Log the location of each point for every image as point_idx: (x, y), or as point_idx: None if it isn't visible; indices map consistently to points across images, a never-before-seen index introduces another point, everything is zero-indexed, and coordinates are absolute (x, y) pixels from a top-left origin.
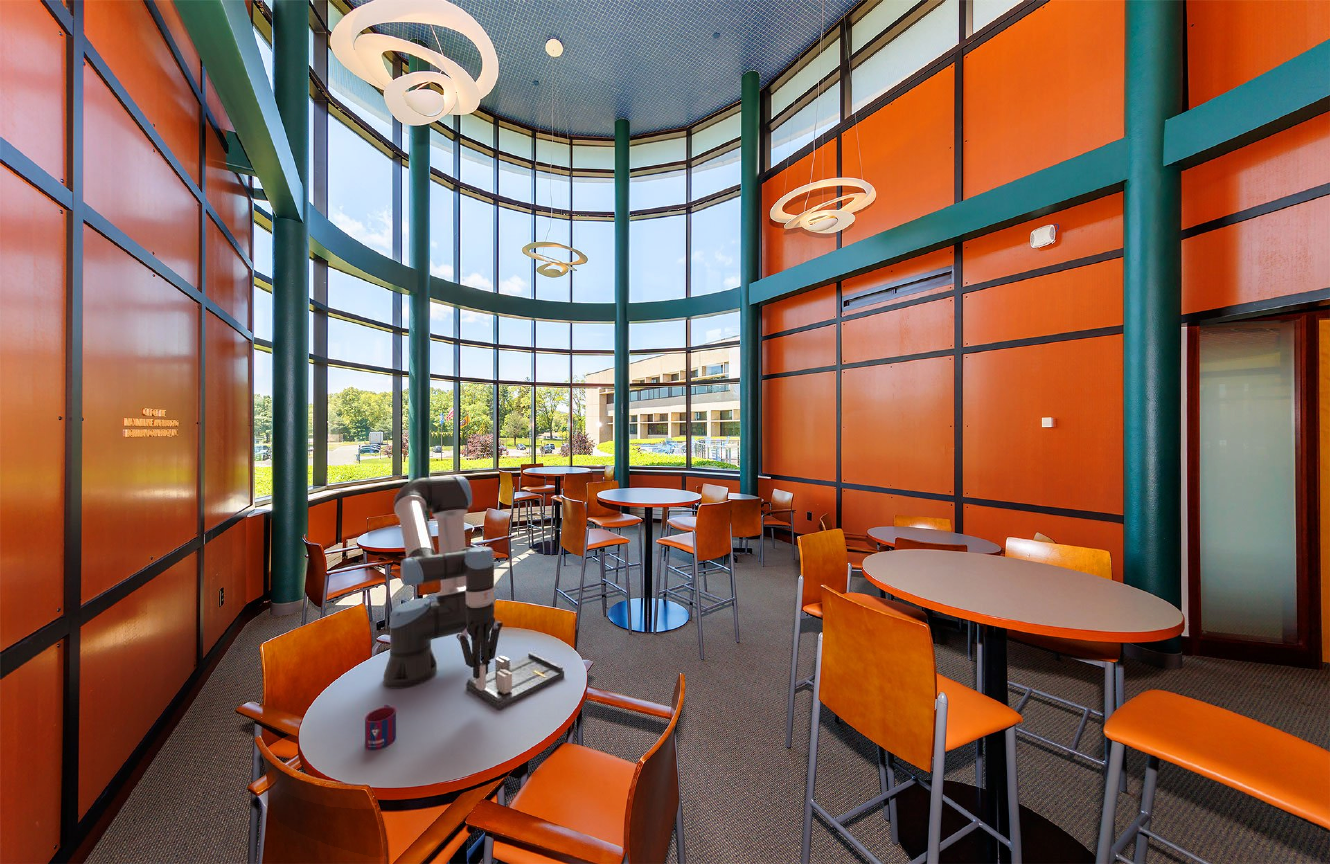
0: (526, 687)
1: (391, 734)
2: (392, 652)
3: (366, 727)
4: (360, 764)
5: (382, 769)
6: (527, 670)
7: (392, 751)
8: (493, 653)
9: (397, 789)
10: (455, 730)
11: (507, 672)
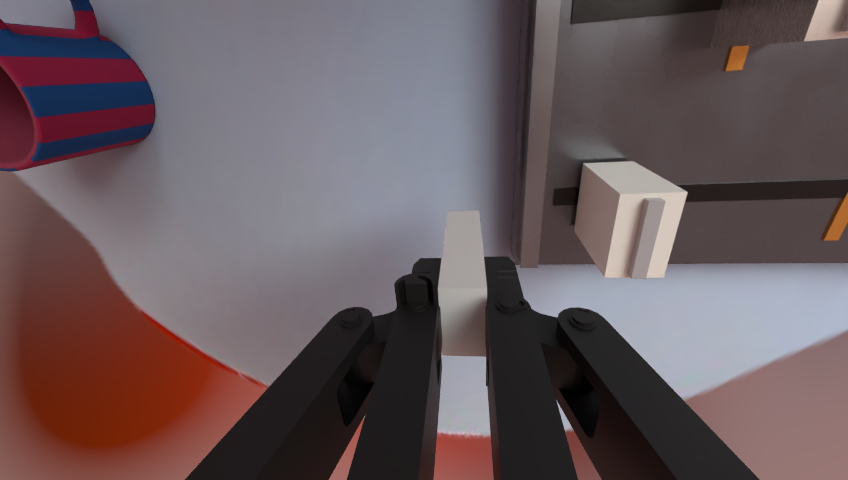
0: (684, 246)
1: (114, 145)
2: None
3: None
4: (67, 179)
5: (134, 250)
6: None
7: (152, 190)
8: (588, 414)
9: (175, 339)
10: (342, 239)
11: (646, 267)
